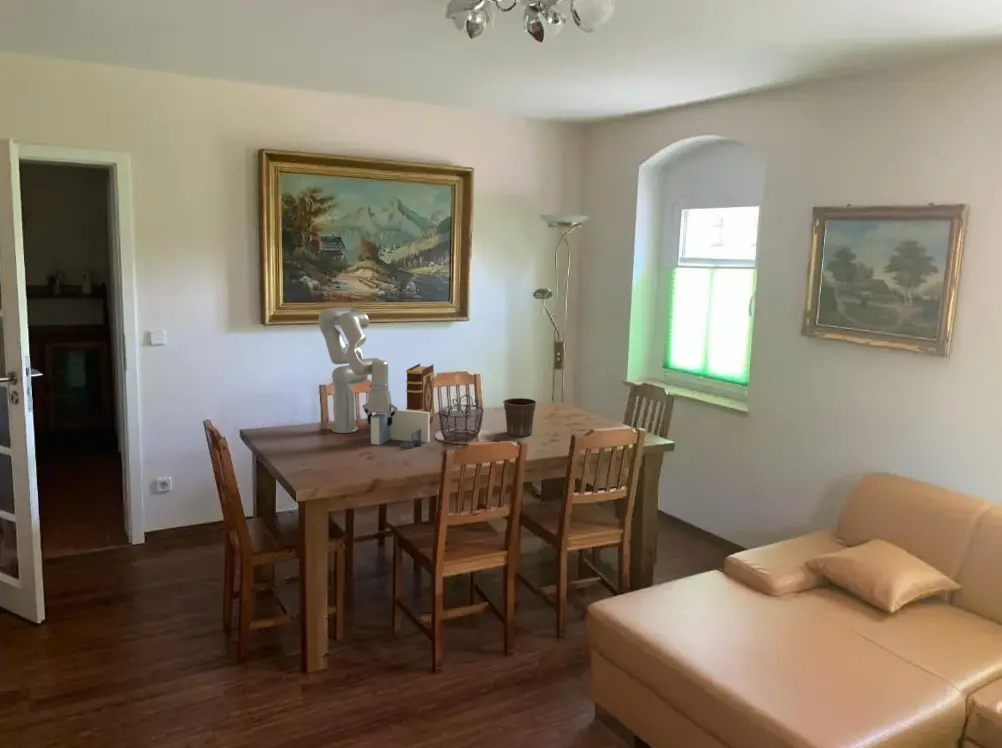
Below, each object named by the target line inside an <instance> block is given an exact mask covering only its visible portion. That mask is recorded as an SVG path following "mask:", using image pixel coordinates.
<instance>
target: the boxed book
mask: <svg viewBox="0 0 1002 748" xmlns="http://www.w3.org/2000/svg"><path fill="white" fill-rule="evenodd" d="M388 417H389V416H388V415H387V414H386V413H377V414H376V413H374V414H372V416H371V424H370V445H374V446H375V445H377V446H381V445H382V444H384V443H386V442H388V441H390V440H391V439H390V426H388Z"/></svg>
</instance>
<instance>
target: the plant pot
mask: <svg viewBox="0 0 1002 748" xmlns="http://www.w3.org/2000/svg"><path fill="white" fill-rule="evenodd" d="M537 402H538V401H536V400H535V399H531V398H526V397H525V398H523V397H522V398H521V397H519V398H518V397H517V398H514V397H513V398H508V399H504V400H503V401H502V403H503V405H504V407H503V408H504V412H505V422H506V434H508V435H509V436H514V437H528V436H529V435H532V434H533V424H534V416H535V410H536V406H537V405H536V404H537Z"/></svg>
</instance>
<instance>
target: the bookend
mask: <svg viewBox="0 0 1002 748" xmlns="http://www.w3.org/2000/svg"><path fill="white" fill-rule="evenodd" d="M416 447H423V442H422V441H421V429H419V430H418V431H416V432H414V433H413V434H412V441H403V442H402V443H400V444H398V445H397V448H406V449H407V448H409V449H414V448H416Z"/></svg>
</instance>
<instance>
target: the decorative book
mask: <svg viewBox="0 0 1002 748" xmlns="http://www.w3.org/2000/svg"><path fill="white" fill-rule="evenodd" d="M434 375H435V374H434V363H433V364H431V365H430V366H423V365H422V366H421V363H418V364H416V365H414V366H412V367H410V368H408V369H406V381H405V383H406V390H405V391H406V409H405V410H410V411H422V412H430V424H432V423H433V421H434V381H435V379H434V377H435V376H434Z"/></svg>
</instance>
